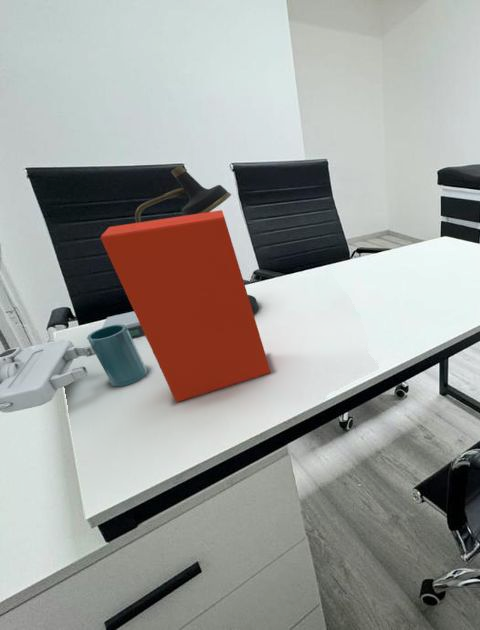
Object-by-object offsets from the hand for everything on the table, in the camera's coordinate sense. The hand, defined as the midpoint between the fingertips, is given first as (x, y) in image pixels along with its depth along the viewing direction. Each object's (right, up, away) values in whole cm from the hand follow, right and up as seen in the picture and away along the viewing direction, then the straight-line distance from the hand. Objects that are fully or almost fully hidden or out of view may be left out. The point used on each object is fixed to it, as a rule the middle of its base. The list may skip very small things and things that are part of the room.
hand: (91, 359), depth 77 cm
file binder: (+26, -4, +2) cm, 26 cm away
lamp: (+12, +9, +29) cm, 32 cm away
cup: (+4, -4, +4) cm, 8 cm away
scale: (-9, +5, +24) cm, 27 cm away
